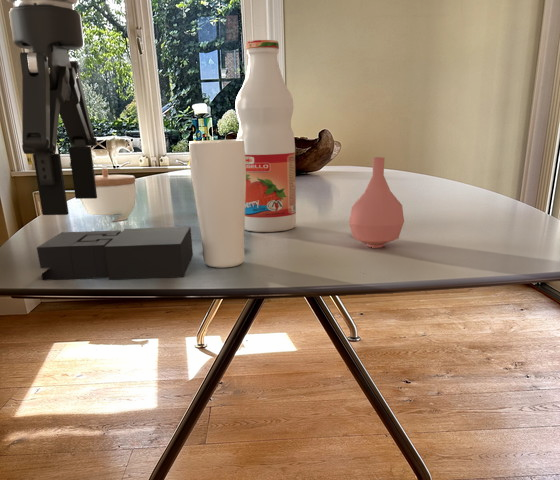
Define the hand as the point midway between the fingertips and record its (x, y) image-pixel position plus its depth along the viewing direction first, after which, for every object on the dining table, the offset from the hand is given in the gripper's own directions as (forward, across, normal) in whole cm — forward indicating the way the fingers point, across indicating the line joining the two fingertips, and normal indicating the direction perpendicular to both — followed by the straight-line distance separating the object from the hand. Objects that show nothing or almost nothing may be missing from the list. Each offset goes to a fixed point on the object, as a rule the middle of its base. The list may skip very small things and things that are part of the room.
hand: (72, 206), depth 74 cm
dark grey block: (+8, 0, -1) cm, 8 cm away
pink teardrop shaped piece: (+7, +8, -40) cm, 41 cm away
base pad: (+8, 0, -7) cm, 11 cm away
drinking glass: (+8, 0, -19) cm, 20 cm away
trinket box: (+9, +41, +5) cm, 42 cm away
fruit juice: (+8, +26, -25) cm, 37 cm away
